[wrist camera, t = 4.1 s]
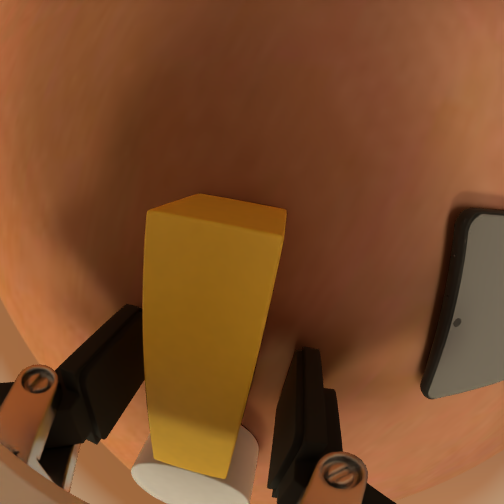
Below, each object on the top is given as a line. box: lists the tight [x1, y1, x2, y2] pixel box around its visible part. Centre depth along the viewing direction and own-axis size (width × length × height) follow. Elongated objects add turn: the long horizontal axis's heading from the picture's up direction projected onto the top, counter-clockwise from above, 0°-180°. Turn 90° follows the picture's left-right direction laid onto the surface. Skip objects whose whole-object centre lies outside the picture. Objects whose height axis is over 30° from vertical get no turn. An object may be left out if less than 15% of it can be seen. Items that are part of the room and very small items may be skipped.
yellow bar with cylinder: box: [131, 193, 287, 504], centre depth 9 cm, size 14×5×3 cm, turn 170°
